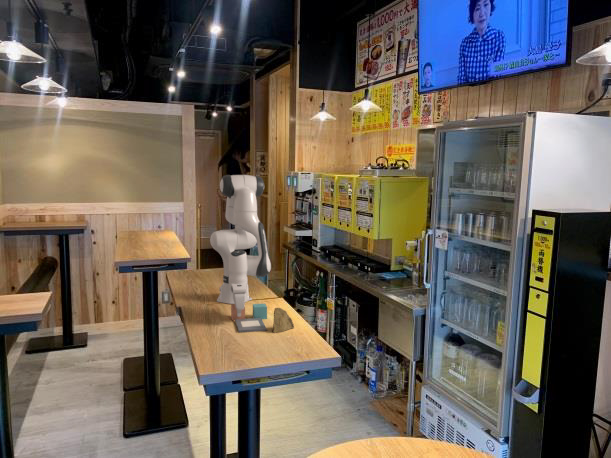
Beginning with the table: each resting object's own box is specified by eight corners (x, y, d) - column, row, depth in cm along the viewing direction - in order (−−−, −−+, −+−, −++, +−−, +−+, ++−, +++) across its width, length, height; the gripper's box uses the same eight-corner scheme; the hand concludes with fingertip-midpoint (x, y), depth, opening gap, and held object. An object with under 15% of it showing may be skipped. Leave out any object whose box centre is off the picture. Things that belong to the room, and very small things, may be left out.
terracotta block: (231, 316, 220) (231, 304, 219) (243, 316, 221) (243, 303, 221) (232, 320, 214) (232, 308, 214) (245, 319, 216) (245, 307, 215)
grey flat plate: (235, 321, 213) (235, 319, 213) (261, 319, 216) (261, 317, 216) (238, 332, 198) (238, 330, 198) (266, 330, 201) (266, 328, 201)
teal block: (252, 316, 222) (252, 304, 222) (265, 315, 224) (265, 303, 223) (254, 319, 217) (254, 307, 216) (267, 319, 218) (267, 306, 217)
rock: (294, 319, 209) (272, 317, 208) (297, 308, 204) (274, 305, 202) (293, 340, 201) (270, 337, 200) (296, 328, 196) (273, 326, 194)
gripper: (229, 280, 225) (229, 308, 227) (233, 290, 206) (233, 320, 207) (242, 280, 227) (242, 307, 228) (247, 290, 207) (247, 319, 209)
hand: (238, 313), depth 218 cm, fingers closed on terracotta block, 6 cm apart
